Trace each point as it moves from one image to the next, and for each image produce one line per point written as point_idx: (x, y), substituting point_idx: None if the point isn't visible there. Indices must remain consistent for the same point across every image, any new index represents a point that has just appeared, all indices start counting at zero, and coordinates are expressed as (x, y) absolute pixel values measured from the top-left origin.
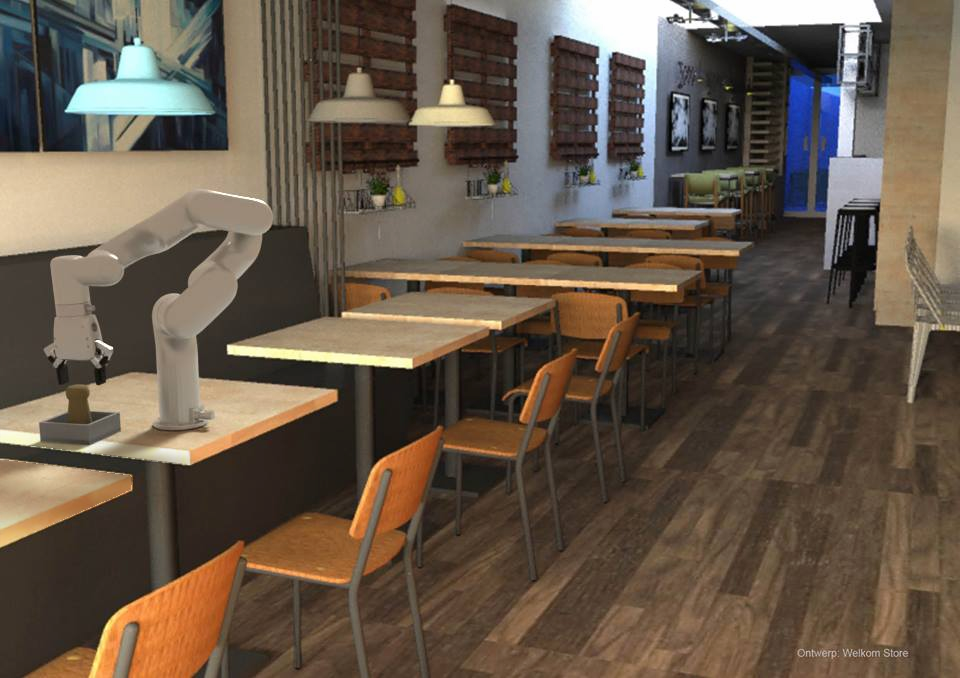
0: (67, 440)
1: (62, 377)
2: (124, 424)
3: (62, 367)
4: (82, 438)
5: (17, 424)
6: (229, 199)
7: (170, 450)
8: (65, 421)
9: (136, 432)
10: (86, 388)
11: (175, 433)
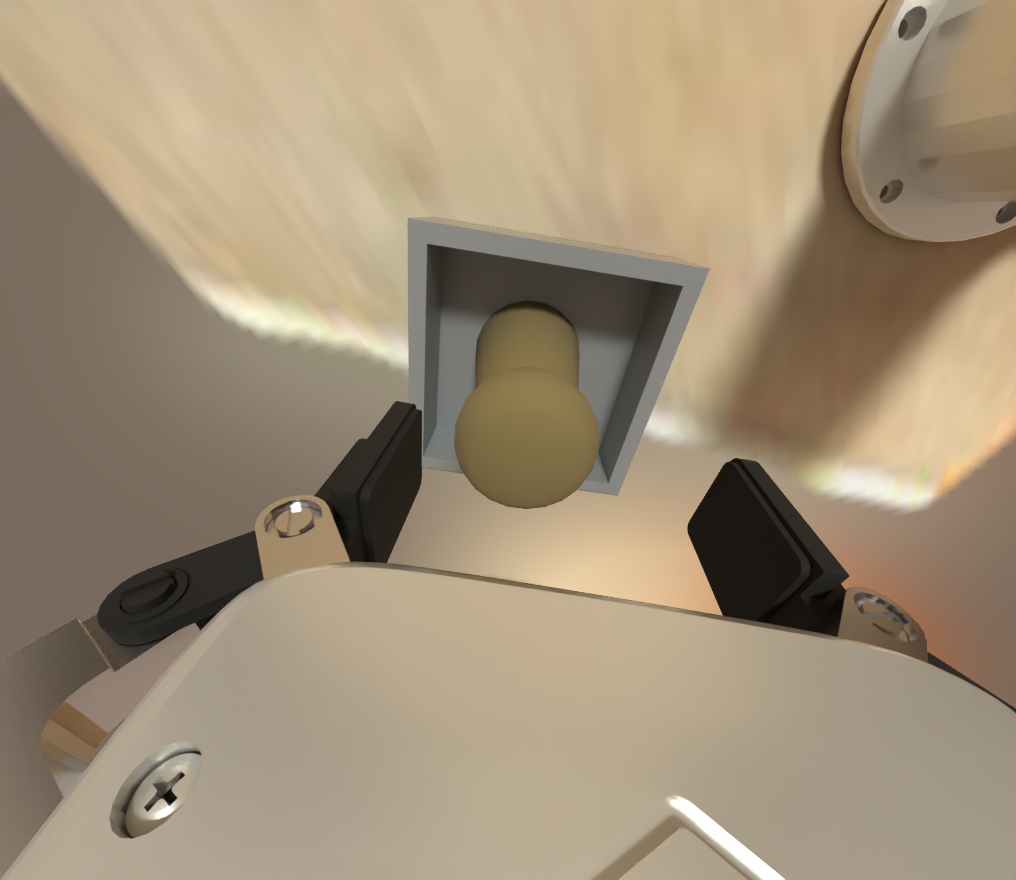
0: None
1: (405, 499)
2: (665, 98)
3: (373, 553)
4: None
5: (124, 164)
6: None
7: (873, 491)
8: (434, 313)
9: (748, 275)
10: (593, 463)
11: (934, 279)
